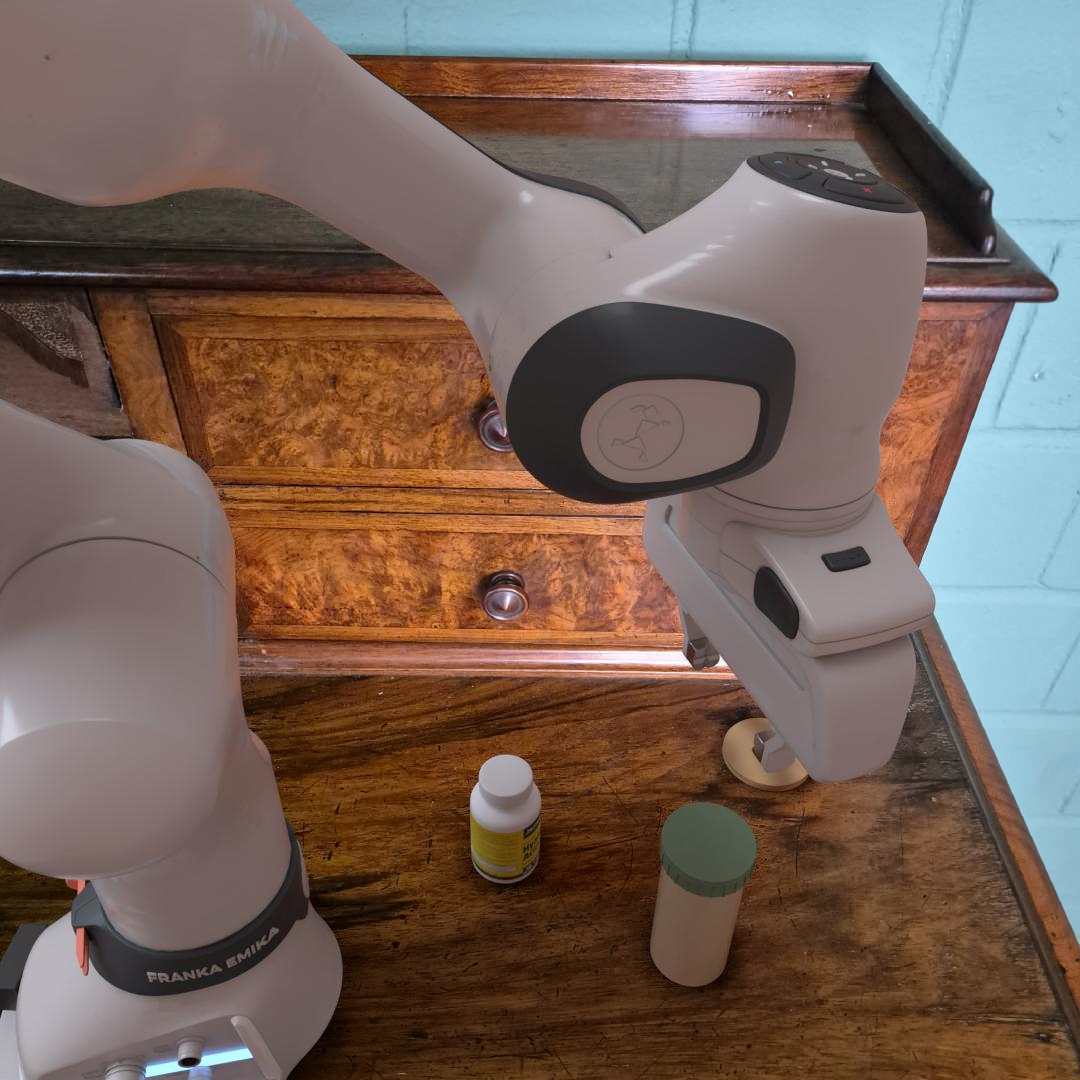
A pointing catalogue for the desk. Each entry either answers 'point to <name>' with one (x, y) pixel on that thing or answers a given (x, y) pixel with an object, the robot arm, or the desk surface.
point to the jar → (692, 933)
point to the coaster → (748, 766)
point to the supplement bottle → (505, 820)
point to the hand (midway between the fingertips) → (733, 708)
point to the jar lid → (707, 849)
